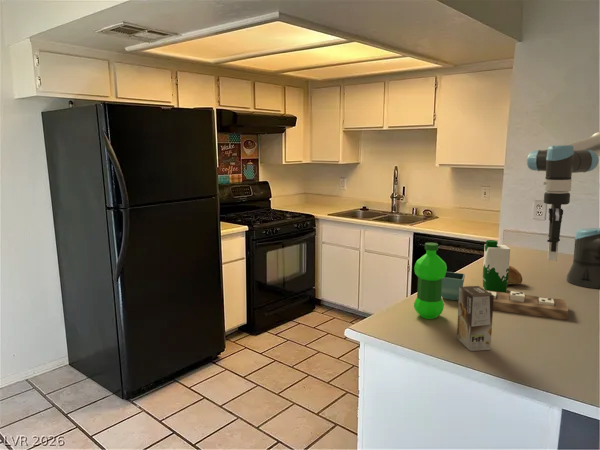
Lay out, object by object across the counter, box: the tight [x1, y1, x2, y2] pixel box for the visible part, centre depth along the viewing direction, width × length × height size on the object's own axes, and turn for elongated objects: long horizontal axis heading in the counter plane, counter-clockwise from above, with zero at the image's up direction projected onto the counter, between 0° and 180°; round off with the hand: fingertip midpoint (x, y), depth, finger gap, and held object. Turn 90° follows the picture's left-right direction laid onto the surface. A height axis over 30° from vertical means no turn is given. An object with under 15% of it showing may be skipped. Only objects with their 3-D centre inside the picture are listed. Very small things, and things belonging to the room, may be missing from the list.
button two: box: [538, 296, 554, 306], centre depth 150 cm, size 4×4×4 cm
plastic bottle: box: [413, 242, 448, 320], centre depth 145 cm, size 10×10×25 cm
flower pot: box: [441, 271, 466, 301], centre depth 164 cm, size 9×9×9 cm
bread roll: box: [507, 265, 523, 285], centre depth 182 cm, size 10×15×8 cm, turn 59°
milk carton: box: [482, 239, 511, 293], centre depth 172 cm, size 9×9×20 cm
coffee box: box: [456, 285, 494, 352], centre depth 125 cm, size 9×6×16 cm
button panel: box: [486, 290, 569, 320], centre depth 154 cm, size 30×12×3 cm, turn 64°
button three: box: [509, 290, 526, 302], centre depth 154 cm, size 4×4×4 cm
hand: (552, 259), depth 150 cm, fingers closed
